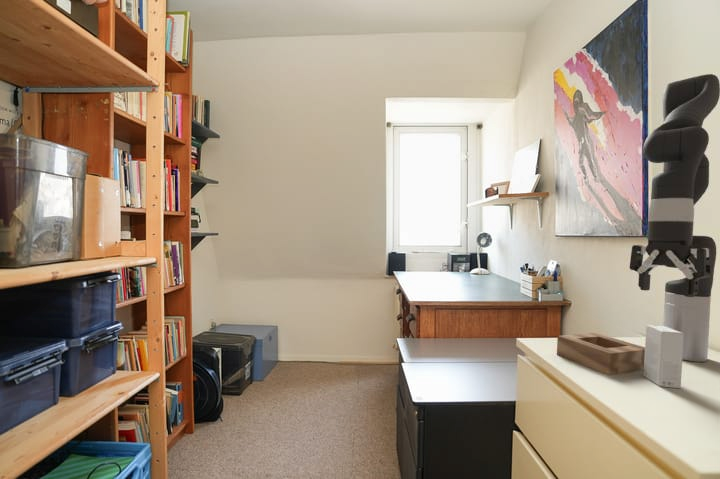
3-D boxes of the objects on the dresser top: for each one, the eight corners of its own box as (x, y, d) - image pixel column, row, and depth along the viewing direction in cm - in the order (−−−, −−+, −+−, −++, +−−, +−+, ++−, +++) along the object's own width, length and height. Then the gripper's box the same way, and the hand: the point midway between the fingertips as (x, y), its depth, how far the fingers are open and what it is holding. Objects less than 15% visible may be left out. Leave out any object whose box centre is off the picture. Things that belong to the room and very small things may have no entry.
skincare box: (681, 389, 75) (685, 333, 75) (658, 386, 76) (661, 331, 76) (663, 377, 81) (666, 326, 81) (642, 375, 82) (645, 324, 82)
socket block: (594, 350, 99) (594, 332, 99) (649, 369, 86) (650, 348, 86) (556, 354, 95) (557, 335, 94) (609, 374, 81) (610, 353, 81)
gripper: (722, 220, 72) (717, 299, 73) (646, 221, 86) (642, 288, 86) (699, 218, 70) (694, 300, 70) (624, 220, 83) (620, 288, 83)
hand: (665, 293), depth 78 cm, fingers open, 8 cm apart
